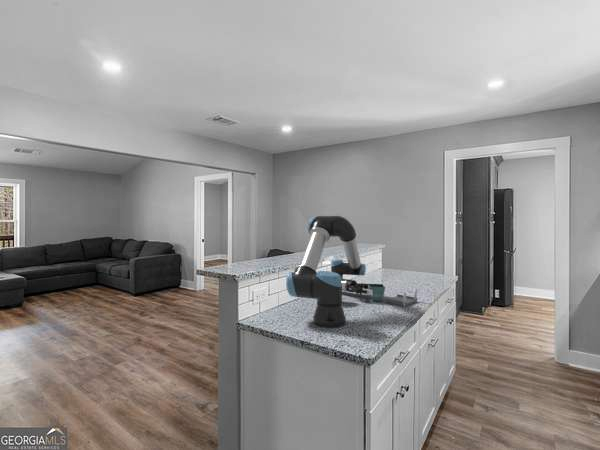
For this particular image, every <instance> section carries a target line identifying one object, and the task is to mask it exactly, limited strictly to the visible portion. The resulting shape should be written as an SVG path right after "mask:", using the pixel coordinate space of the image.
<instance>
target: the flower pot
mask: <svg viewBox="0 0 600 450" xmlns="http://www.w3.org/2000/svg"><path fill="white" fill-rule="evenodd" d="M367 284H368V290H373V295H368V296H369V297H370V300H371V301H372V302H382V300H383V298H384V295H385V291H384V289H385V290H386V286H385V285H384V284H383V283H367Z"/></svg>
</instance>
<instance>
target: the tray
mask: <svg viewBox="0 0 600 450" xmlns="http://www.w3.org/2000/svg"><path fill="white" fill-rule="evenodd" d="M385 303H386V304H390V305H394V306H400V307H409V306H410V305H411V306H412V305H413V304H416V303H418V289H417V288H413V296H409V295H407V292H403V293H402V294H399V293H398V294H396V296H394V297H391V298H389V297H386V298H385Z"/></svg>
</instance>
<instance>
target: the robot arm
mask: <svg viewBox="0 0 600 450" xmlns="http://www.w3.org/2000/svg"><path fill="white" fill-rule="evenodd" d="M307 229H308V230H307V232H308V235H309V237H310V238H309V241H308V244H307V245H306V249H305V250H304V253H303V257H302V259H301V262H300V264H299V265H297V266H296V267H295V269H294V271H290V272H289V273H288V274H287V277H286V289H287V293H288V295H289V296H290V297H295V298H297V299H298V298H302V299H303V298H304V299H313V300H316V307H315V311H314V314H313V316H312V317H313V321H312V323H313V324H314V325H316V326H319V327H322V328H338V327H343V326H344V325H346V323H347V318H346V315H345V312H344V308H343V292H346V293H347V292H348V293H355V294H357V295H358V294H359V295H362V296H363V295H368V296H369V295H373V290H368V284H369V283H364V282H361V283H358V282H357V281H356V280H355V279H354V280H353V279H348V278H344V277H343V276H344V275H345V276H346V275H347V276H362V277H363V276H365V274H366V270H367V268H366V267H367V266H366V264H365V263H362V262H361V257H360V253H359V250H358V244H357V240H356V237H357V234H356V229H355V228H354V225H352V222H350V221H349V220H348V219H347V218H345V217H343V216H339V215H316V216H315V215H314V216H312V217H311V218H310V219H309V222H308V226H307ZM330 237H338V238H339V240H340V241H341V242H342V245H343V249H344V252H345V255H346V259H347V262H344V261H343V259H341V258H335V259H331V264H330V265H331V266H330V270H318V266H319V263H320V259H321V257H322V254H323V251H324V248H325V246H326V245H325V244H326V243H327V242H329V241H330ZM317 270H318V271H317ZM384 292H386V288H385V289H384Z"/></svg>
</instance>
